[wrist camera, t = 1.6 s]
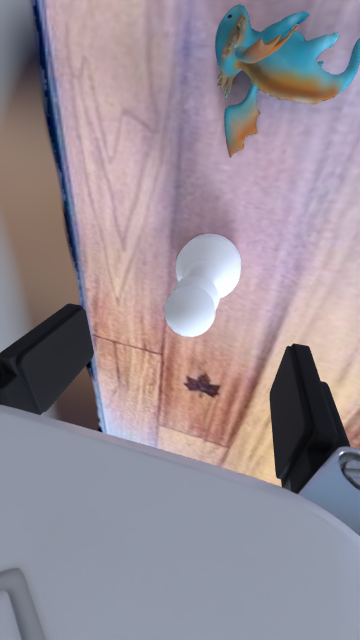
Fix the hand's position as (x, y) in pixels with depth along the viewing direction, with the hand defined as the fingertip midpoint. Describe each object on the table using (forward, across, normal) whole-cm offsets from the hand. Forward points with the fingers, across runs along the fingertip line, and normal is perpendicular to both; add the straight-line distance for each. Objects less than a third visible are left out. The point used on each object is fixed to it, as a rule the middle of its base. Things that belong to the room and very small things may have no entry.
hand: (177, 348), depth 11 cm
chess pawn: (+11, 0, 0) cm, 11 cm away
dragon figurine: (+11, -3, -11) cm, 16 cm away
